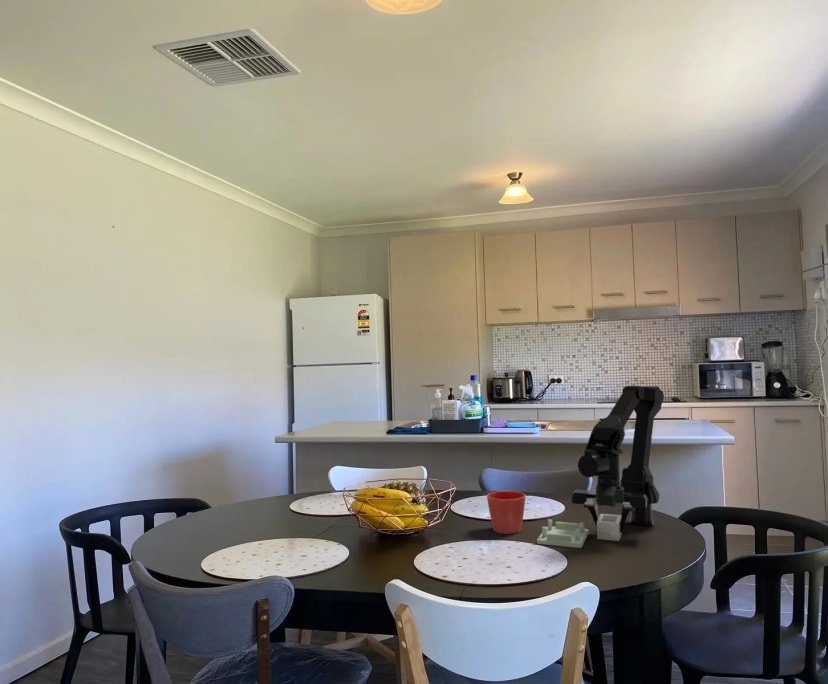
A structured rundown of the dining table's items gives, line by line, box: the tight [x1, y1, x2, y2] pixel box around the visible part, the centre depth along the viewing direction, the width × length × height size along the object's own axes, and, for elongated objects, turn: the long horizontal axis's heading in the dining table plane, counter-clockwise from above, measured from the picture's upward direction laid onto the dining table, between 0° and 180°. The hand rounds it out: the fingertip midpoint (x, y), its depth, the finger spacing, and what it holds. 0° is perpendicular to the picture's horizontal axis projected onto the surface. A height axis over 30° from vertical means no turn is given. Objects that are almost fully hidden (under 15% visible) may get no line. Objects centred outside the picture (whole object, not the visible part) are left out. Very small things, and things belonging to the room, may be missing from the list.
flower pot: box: [486, 490, 526, 535], centre depth 172 cm, size 11×11×10 cm
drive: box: [596, 513, 623, 542], centre depth 165 cm, size 9×6×5 cm, turn 157°
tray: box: [536, 519, 590, 549], centre depth 163 cm, size 14×11×4 cm
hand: (609, 531), depth 165 cm, fingers open, 5 cm apart
